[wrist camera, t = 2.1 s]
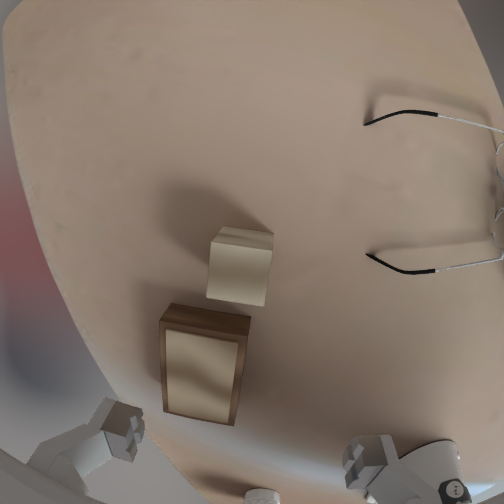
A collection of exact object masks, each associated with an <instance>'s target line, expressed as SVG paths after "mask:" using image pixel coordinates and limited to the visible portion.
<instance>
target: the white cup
mask: <svg viewBox="0 0 504 504" xmlns="http://www.w3.org/2000/svg"><path fill="white" fill-rule="evenodd" d="M243 504H280V496H279V493H277V492H276V491H274V490H270V489H252V490H249V491H247V492H246V494H245V496H244V502H243Z"/></svg>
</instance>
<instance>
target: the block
mask: <svg viewBox="0 0 504 504" xmlns="http://www.w3.org/2000/svg"><path fill="white" fill-rule="evenodd" d="M273 238H274V233H267V232H261V231H254V230H247V229H240V228H233V227H226V226H223V227H222V229H221V230H220V231H219V232H218V234H217V235H216V236H215V238H214V239H213V240H212V241H211V248H210V259H209V270H208V282H207V294H206V298H212V299H217V300H224V301H230V302H236V303H242V304H249V305H255V306H262V307H264V303H265V297H266V291H267V285H268V279H269V272H270V266H271V260H272V254H273Z"/></svg>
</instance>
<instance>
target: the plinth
mask: <svg viewBox="0 0 504 504" xmlns="http://www.w3.org/2000/svg"><path fill="white" fill-rule="evenodd" d="M250 320H251V317H248V316H242V315H236V314H229V313H223V312H217V311H211V310H206V309H200V308H194V307H189V306H184V305H178V304H173V303H171V304H170V306H169V307H168V309H167V310H166V312H165V313H164V314H163V316H162V317H161V319H160V320H159V328H160V363H161V383H162V398H163V412H166V413H170V414H174V415H178V416H183V417H187V418H192V419H196V420H201V421H206V422H212V423H217V424H223V425H229V426H234V423H235V417H236V411H237V405H238V399H239V392H240V386H241V380H242V373H243V367H244V360H245V353H246V347H247V340H248V334H249V327H250Z"/></svg>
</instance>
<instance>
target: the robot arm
mask: <svg viewBox="0 0 504 504" xmlns="http://www.w3.org/2000/svg"><path fill="white" fill-rule="evenodd" d="M142 416H143V412H142V409H141V408H137V407H134V406H131V405H128V404H125V403H122V402H119V401H116V400H113V399H109V398H107V397H106V398H105V399H103V401H102V402H101V404H100V405H99V407H98V409H97V410H96V412H95V413H94V415H93V417H92V419H91V420H90V422H89V423H88V425H87V424H83V425H81V426H78V427H76V428H74V429H72V430H70V431H67V432H65V433H63V434H60V435H58V436H56V437H54V438H51V439H49V440H46V441H44V442H42V443H40V444H39V446H38V447H37V449H36V450H35V452H34V453H33V455H32V456H31V458H30V459H29V461H28V463H27V464H24V463H22V462H21V461H19V460H17V459H16V458H14V457H13V456H11V455H10V454H8V453H7V452H5V451H4V450H2V449H1V448H0V504H106V503H104V502H101V501H98V500H96V499H93V498H91V497H89V496H86V495H87V493H88V488H87V486H86V485H85V483H84V481H83V480H82V477H84V476H85V475H87V474H88V473H90V472H92V471H93V470H95V469H96V468H98V467H99V466H101V465H102V464H104V463H105V462H107V461H108V460H109V459H111V458H112V456H113V457H116V458H119V459H122V460H125V461H129V462H133V460H134V458H135V455H136V453H137V446H136V445H137V444H138V443H140V442H141V441H142V438H143V435H144V430H145V424H144V421H143V420H142ZM459 459H460V455H459V453H458V452H457V451H456V445H455V443H454V442H452V441H439V442H435V443H431V444H428V445H426V446H423V447H421V448H419V449H416V450H414V451H413V452H411V453H409V454H407V455H406V456H404V457H402V458H401V459H398V456H397V452H396V449H395V446H394V443H393V440H392V438H391V436H390V435H389V434H384V435H360V436H354V437H353V438H352V439H351V445H350V446H348V447H347V448H346V450H345V451H344V455H343V468H344V469H345V470H346V471H347V474H346V475H345V481H346V487H347V489H359V488H366V490H367V491H368V492H369V493H368V495H367V497H366V500H367V502H369V503H378V504H471V503H472V500H471V496H470V494H469V492H468V489H467V487H465V486H464V485H465V481H464V477H463V473H462V469H461V466H460V463H459ZM477 504H504V492H503V493H501V494H498V495H496V496H494V497H492V498H489V499H487V500H485V501H482V502H480V503H477Z"/></svg>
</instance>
